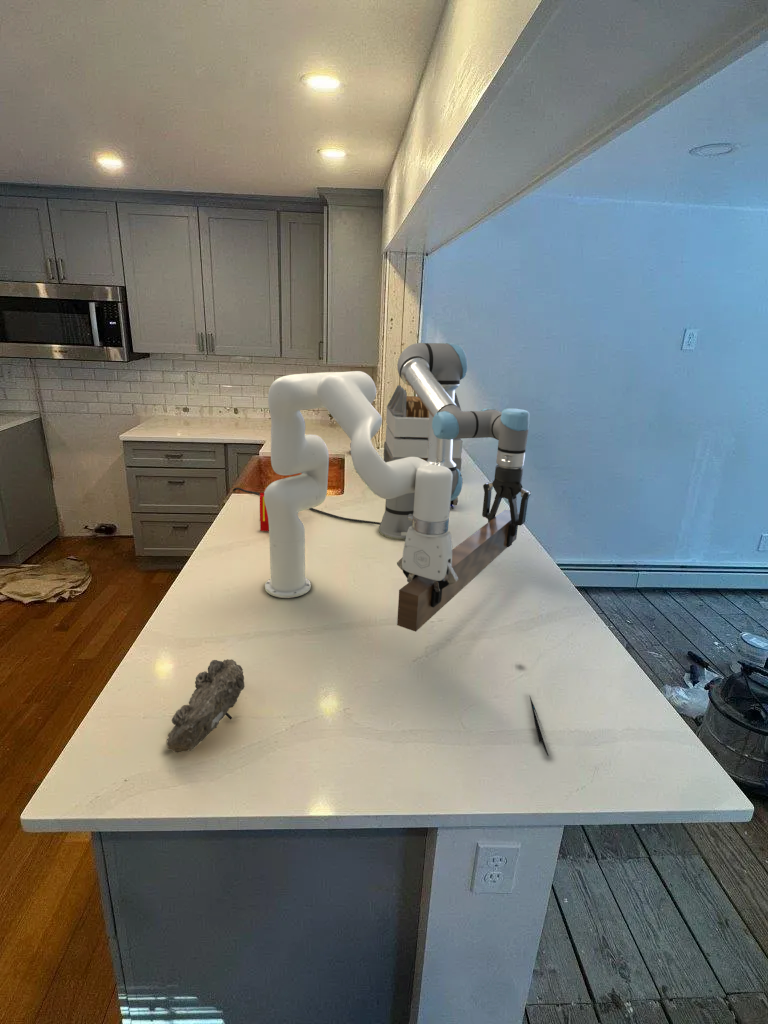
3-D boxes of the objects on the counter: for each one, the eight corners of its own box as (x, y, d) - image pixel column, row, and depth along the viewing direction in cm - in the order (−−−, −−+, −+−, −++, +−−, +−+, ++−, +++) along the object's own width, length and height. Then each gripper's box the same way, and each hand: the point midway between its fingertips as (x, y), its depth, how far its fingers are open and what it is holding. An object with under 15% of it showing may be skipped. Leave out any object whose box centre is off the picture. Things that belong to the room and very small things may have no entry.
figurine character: (457, 514, 225) (453, 498, 239) (459, 497, 222) (455, 481, 236) (441, 513, 225) (437, 497, 239) (442, 496, 222) (439, 481, 235)
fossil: (192, 660, 117) (244, 628, 112) (224, 691, 120) (276, 661, 115) (142, 746, 98) (202, 712, 93) (182, 779, 101) (242, 748, 96)
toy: (300, 481, 221) (289, 494, 192) (300, 514, 224) (289, 533, 194) (268, 480, 221) (253, 493, 191) (269, 514, 223) (254, 532, 194)
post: (501, 535, 172) (505, 509, 169) (516, 539, 170) (519, 512, 167) (396, 625, 121) (399, 589, 118) (415, 631, 119) (418, 596, 116)
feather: (521, 671, 128) (526, 665, 127) (548, 760, 101) (555, 753, 101) (514, 667, 128) (520, 661, 127) (540, 755, 101) (547, 748, 101)
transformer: (382, 463, 289) (386, 382, 275) (445, 464, 293) (451, 384, 279) (390, 482, 257) (394, 392, 243) (460, 483, 261) (468, 394, 247)
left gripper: (386, 520, 120) (382, 596, 126) (459, 539, 112) (451, 620, 118) (404, 510, 126) (400, 584, 132) (474, 528, 118) (466, 605, 124)
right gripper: (474, 462, 158) (467, 539, 166) (536, 474, 149) (525, 555, 157) (485, 457, 164) (477, 532, 172) (545, 468, 155) (534, 546, 163)
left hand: (424, 600), depth 125 cm, fingers closed on post, 4 cm apart
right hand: (500, 543), depth 165 cm, fingers closed on post, 5 cm apart
